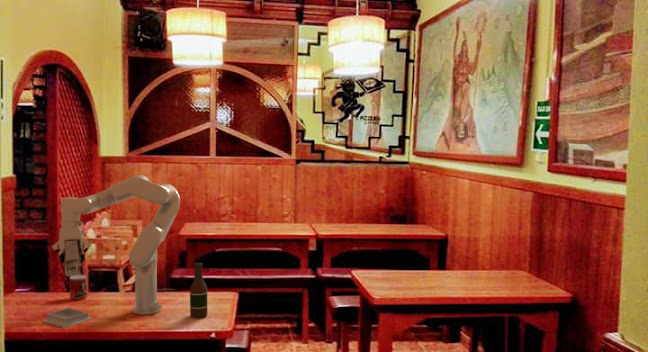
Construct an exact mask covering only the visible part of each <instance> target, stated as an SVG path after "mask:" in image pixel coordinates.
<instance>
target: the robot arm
mask: <svg viewBox="0 0 648 352" xmlns="http://www.w3.org/2000/svg"><path fill="white" fill-rule="evenodd" d="M135 197H137V198H139V199H142V200H143V201H147V202H150V203H153V204H155V205H159V208H158V209H157V210H156V213H155V215H154V216H153V219H152V220H151V222H150V223H149V224H148V225H146V226H145V227H143V229H142V230H141V231H140V233H139V235H138V237H137V239H136V240H135V242H134V244H133V246H132V248H131V249H130V252H129V256H128V259H129V262H130V264H131V265H132V267H135V268H134V288H135V289H134V292H135V293H134V294H135V297H134V298H135V306H134V307H132V309H131V313H133V314H135V315H151V314H155V313H158V312H160V311H161V309H162V307H163V305H162V304H159V301H158V295H157V294H158V282H157V281H158V278H157V276H158V275H157V273H158V271H157V267H158V266H157V265H158V247H159V246H160V244H161V243H162V242H164V241H165V239H166V236H167V235H168V233H169V230H170V229H171V227H172V225H173V224H174V221H175V219H176V217H177V216H178V212H179V210H180V206H181V197H180V194H179V192H178V190H177V188H176V187H175V186H174V185H172V184H170V183H162V184H157V183H155V182H152V181H150V179H149V178H148V176H147V175H146V176H145V175H143V174H138V175H134V176H131V177H130V178H127V179H124V180H123V181H120V182H117V183H114V184H112V185H110V186H109V187H108V188H106V189H103V190H102V191H98V192H96V193H94V194H92V195H88V196H84V197H81V198H79V197H73V196H69V197H67V196H66V197H63V198H62V199H61V201H60V207H61V208H60V209H61V211H60V212H61V227H60V230H59V237H58V239H59V240H58V241H57V242H56V243H54V244H53V245H52V246H51V248H52V249H53V250H54V252H56V254H58V256H59V262H60V264H61V265H62V264H64V250H65V245H64V241H65V240H80V255H81V264H83V263H84V262H85V261H86V253H87V252H88V250H89V249H90V248H91V246H92V244H91V242H88V241H87V240H85V233H84V230H83V227H82V225H84V221H81V215H88V214H91V213H95V212H97V211H100V210H101V209H104V208H106V207H109V206H112V205H114V204H119V203H122V202H124V201H127V200H130V199H132V198H135ZM85 245H86V246H85ZM58 247H59V248H58ZM84 247H85V248H84Z"/></svg>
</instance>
